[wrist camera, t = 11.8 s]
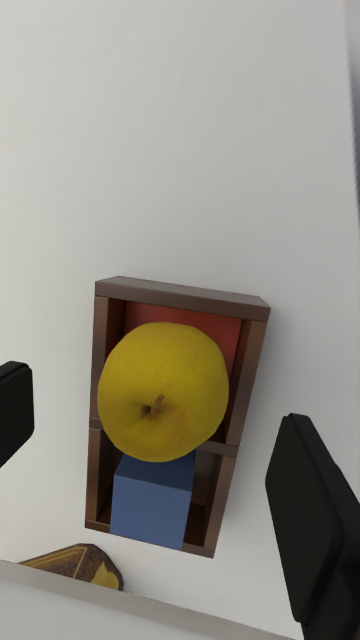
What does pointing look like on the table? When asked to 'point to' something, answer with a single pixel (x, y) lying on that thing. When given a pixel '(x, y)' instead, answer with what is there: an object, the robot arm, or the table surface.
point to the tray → (241, 365)
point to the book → (80, 565)
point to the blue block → (152, 499)
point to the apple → (162, 391)
